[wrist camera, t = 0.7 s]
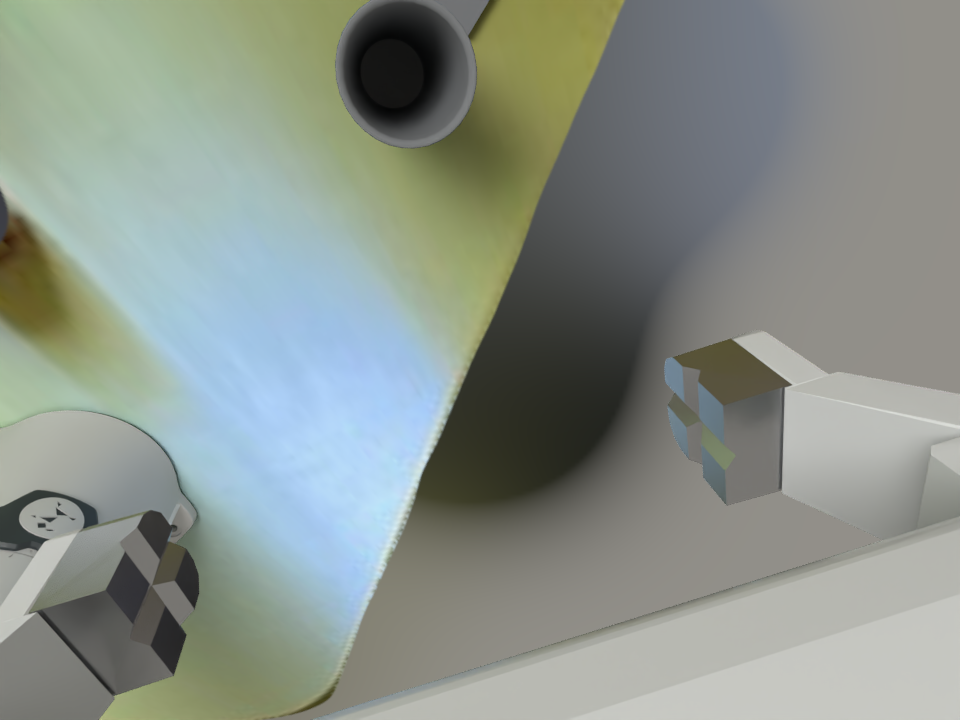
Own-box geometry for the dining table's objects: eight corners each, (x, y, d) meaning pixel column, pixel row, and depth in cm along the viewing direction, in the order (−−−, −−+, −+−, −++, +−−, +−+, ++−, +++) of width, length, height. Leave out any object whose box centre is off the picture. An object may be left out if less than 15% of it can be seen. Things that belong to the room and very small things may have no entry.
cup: (323, 48, 40) (306, 35, 27) (411, -1, 40) (437, -38, 27) (374, 142, 43) (381, 172, 30) (455, 98, 43) (499, 108, 30)
